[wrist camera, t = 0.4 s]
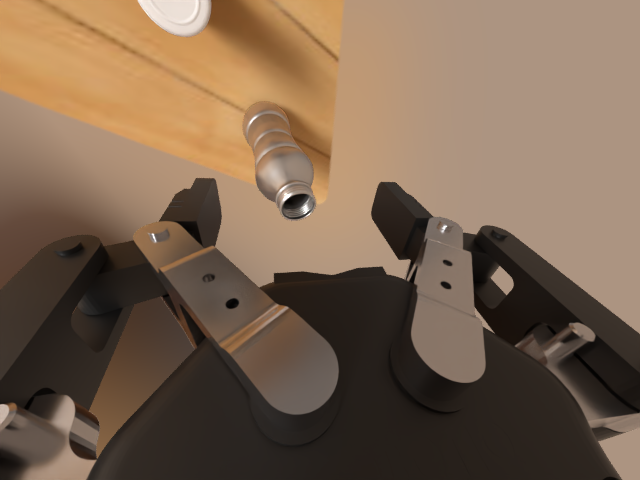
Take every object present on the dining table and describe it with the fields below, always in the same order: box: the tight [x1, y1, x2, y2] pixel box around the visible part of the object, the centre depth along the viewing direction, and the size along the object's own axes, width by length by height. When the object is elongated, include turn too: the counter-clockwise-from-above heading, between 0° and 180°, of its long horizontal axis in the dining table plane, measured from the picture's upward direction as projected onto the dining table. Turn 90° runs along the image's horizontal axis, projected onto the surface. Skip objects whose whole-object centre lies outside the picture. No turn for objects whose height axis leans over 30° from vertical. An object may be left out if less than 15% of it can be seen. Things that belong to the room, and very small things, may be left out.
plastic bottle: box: [242, 101, 316, 221], centre depth 29 cm, size 6×7×20 cm
